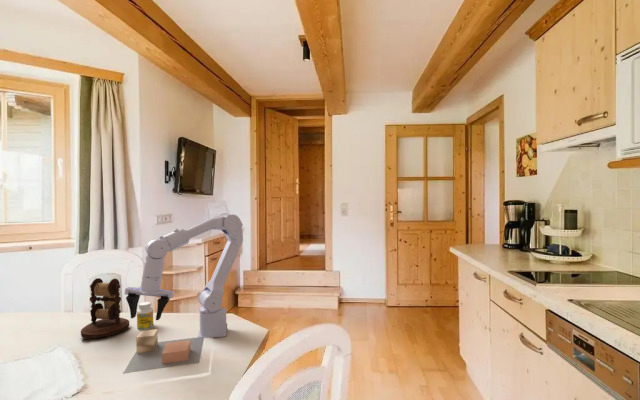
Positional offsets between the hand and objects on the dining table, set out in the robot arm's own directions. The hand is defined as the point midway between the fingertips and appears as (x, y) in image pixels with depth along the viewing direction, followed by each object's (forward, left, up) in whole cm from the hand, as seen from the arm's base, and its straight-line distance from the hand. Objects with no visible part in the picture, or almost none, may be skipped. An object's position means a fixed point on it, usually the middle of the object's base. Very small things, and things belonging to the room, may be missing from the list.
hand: (145, 318), depth 103 cm
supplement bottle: (+4, -18, -11) cm, 22 cm away
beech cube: (-1, +1, -10) cm, 10 cm away
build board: (-8, +6, -10) cm, 14 cm away
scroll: (+17, -18, -11) cm, 28 cm away
